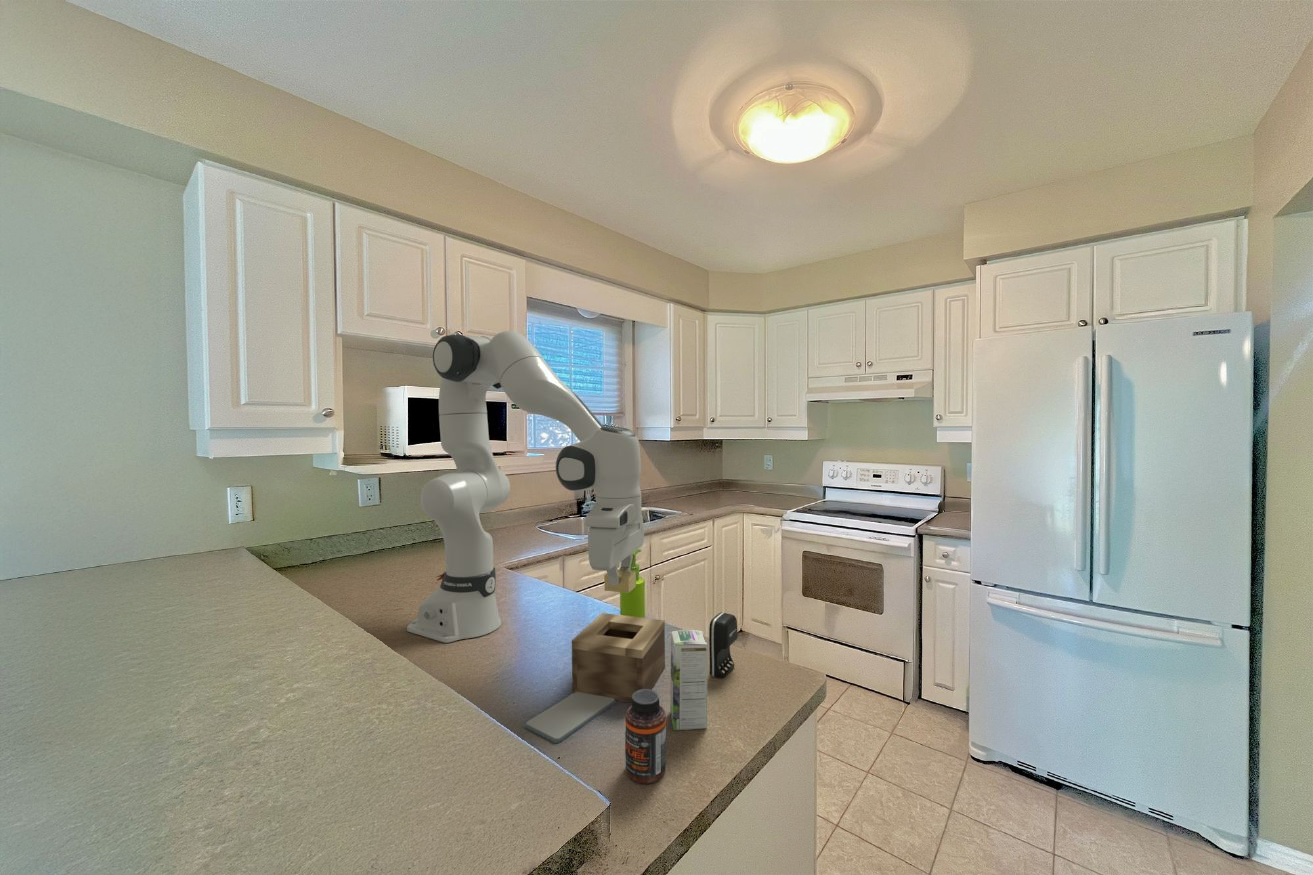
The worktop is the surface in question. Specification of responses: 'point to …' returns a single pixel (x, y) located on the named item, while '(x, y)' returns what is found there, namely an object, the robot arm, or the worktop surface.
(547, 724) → the smartphone
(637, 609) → the soap dispenser
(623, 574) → the pale yellow block
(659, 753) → the supplement bottle
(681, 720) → the syrup box
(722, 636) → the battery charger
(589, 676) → the box
